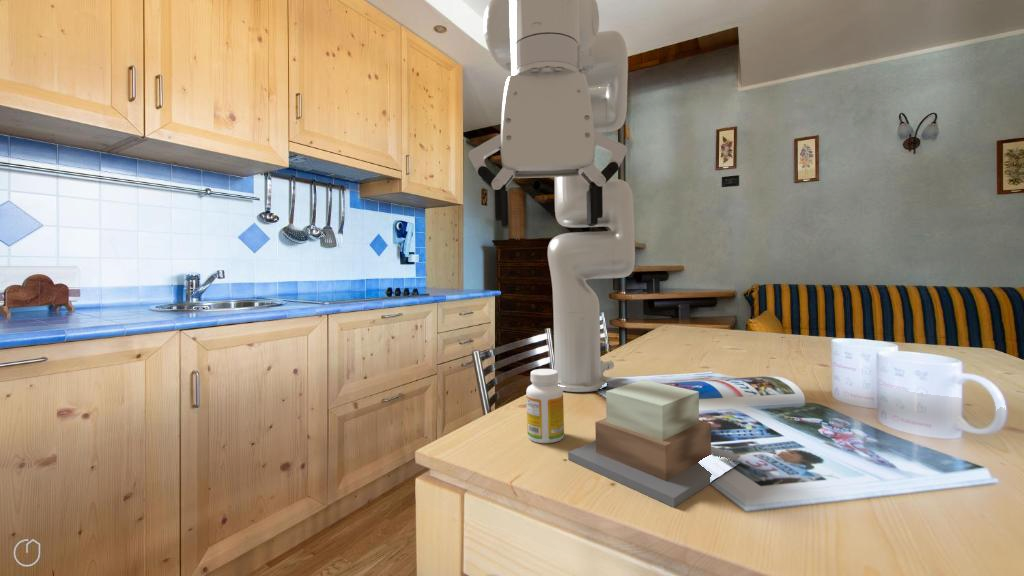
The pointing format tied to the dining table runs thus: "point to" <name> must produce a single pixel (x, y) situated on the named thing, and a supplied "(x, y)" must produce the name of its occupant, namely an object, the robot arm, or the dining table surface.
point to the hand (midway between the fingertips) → (548, 226)
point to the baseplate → (647, 484)
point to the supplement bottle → (545, 407)
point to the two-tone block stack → (653, 428)
